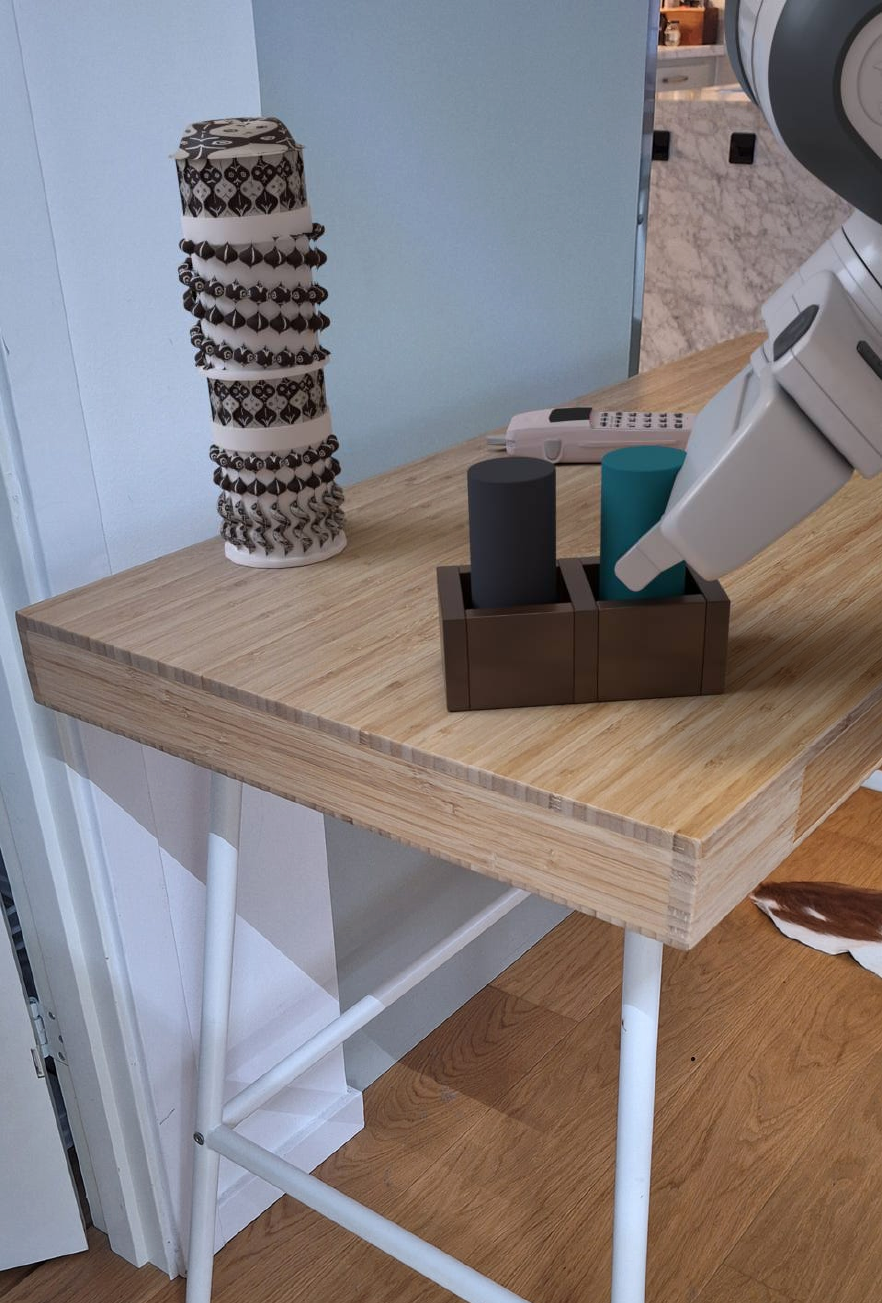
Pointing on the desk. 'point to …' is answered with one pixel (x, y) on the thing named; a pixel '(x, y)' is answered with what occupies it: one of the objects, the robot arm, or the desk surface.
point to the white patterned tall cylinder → (260, 339)
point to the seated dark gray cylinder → (512, 532)
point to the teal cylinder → (636, 514)
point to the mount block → (580, 642)
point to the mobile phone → (590, 433)
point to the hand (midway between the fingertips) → (631, 558)
